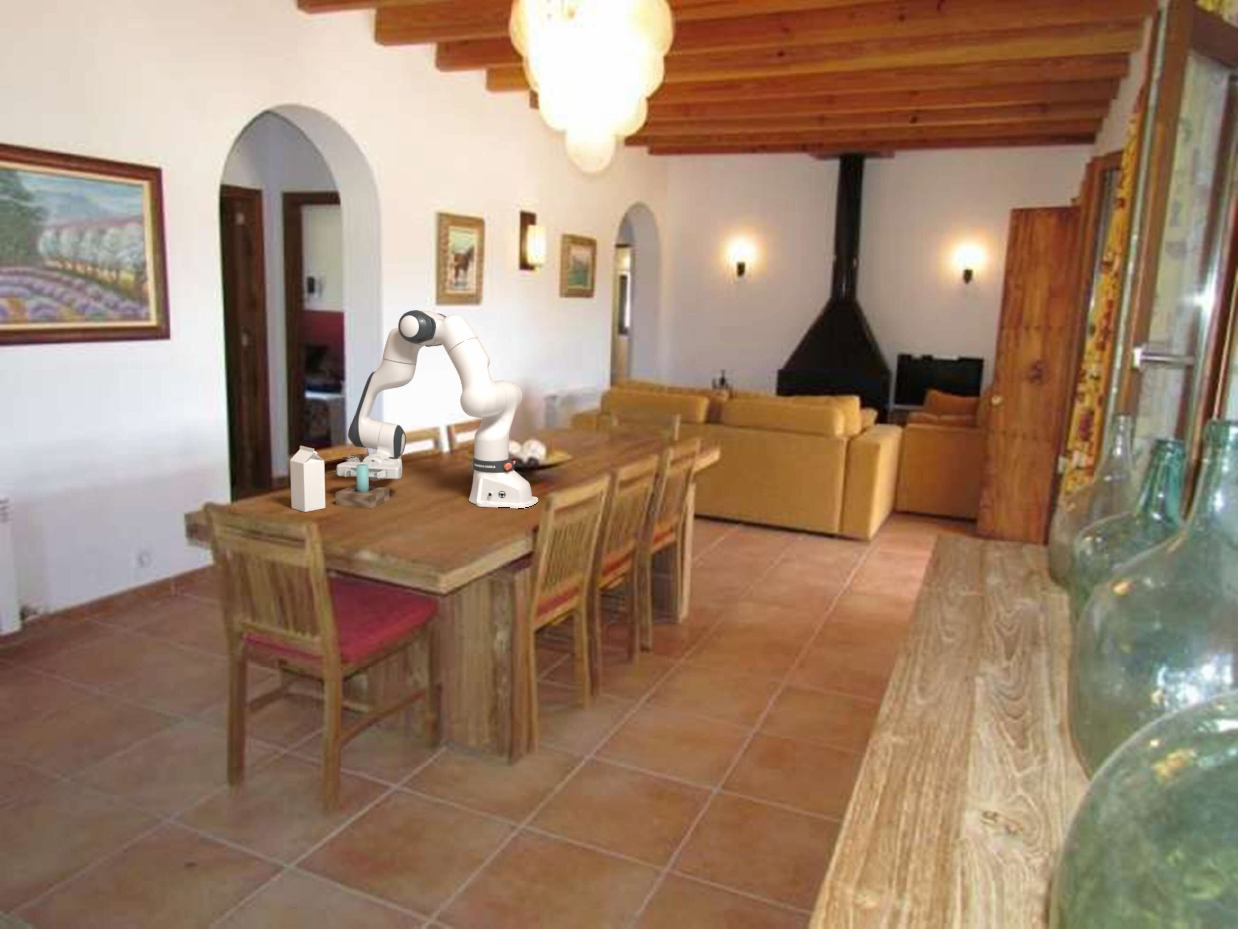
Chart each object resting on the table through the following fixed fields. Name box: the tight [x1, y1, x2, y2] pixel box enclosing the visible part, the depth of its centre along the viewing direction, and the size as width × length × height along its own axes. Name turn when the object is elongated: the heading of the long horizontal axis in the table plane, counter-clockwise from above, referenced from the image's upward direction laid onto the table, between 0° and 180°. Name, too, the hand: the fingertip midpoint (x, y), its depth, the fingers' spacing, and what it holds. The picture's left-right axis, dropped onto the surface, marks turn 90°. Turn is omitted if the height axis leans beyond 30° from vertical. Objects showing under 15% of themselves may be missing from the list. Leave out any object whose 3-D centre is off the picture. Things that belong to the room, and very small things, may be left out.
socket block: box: [335, 484, 390, 509], centre depth 276 cm, size 12×12×4 cm
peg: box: [356, 464, 370, 493], centre depth 275 cm, size 4×4×12 cm
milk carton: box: [289, 445, 326, 513], centre depth 264 cm, size 7×7×19 cm
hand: (361, 475), depth 274 cm, fingers open, 8 cm apart
